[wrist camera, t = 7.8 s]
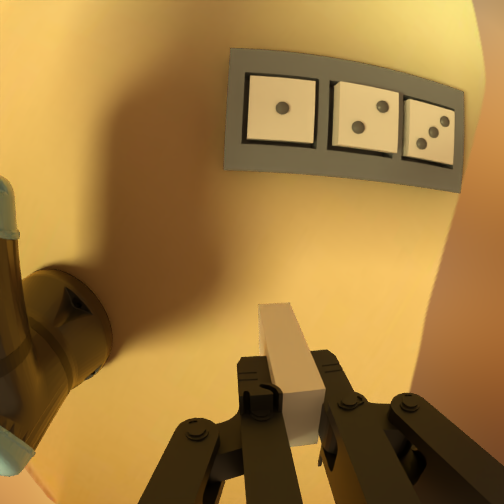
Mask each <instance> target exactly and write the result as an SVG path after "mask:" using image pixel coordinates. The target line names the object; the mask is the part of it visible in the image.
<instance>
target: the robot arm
mask: <svg viewBox="0 0 504 504" xmlns="http://www.w3.org/2000/svg"><path fill="white" fill-rule="evenodd" d="M19 237H20V232H19V231H18V229H17V224H16V211H15V196H14V191H13V188H12V186H11V184H10V183H9V181H8V180H7V179H6V178H4V177H2V176H0V475H2V476H9V477H10V476H14V475H18V474H19V473H20V472H21V471H22V470H23V469H24V467H25V466H26V465H27V463H28V462H29V460H30V459H31V458H32V457H33V456H34V455H35V452H34V451H35V450H36V448H37V446H38V444H39V442H40V441H41V439H42V437H43V435H44V434H45V432H46V430H47V429H48V427H49V425H50V423H51V422H52V420H53V418H54V417H55V415H56V413H57V412H58V410H59V408H60V407H61V405H62V403H63V402H64V400H65V398H66V397H67V395H68V394H69V392H70V390H72V389H73V388H75V387H77V386H78V385H80V384H81V383H82V382H83V381H85V380H87V379H89V378H91V377H93V376H94V375H95V374H97V373H98V372H99V371H100V369H101V368H102V367H103V365H104V363H105V362H106V360H107V358H108V356H109V354H110V351H111V347H112V330H111V326H110V322H109V319H108V317H107V314H106V312H105V310H104V308H103V306H102V305H101V303H100V302H99V300H98V299H97V297H96V296H95V295H94V294H93V292H92V291H91V290H90V289H89V288H88V287H87V286H86V285H84V284H83V283H82V282H81V281H79V280H78V279H76V278H75V277H73V276H71V275H70V274H67V273H65V272H62V271H59V270H54V269H43V270H39V271H36V272H34V273H32V274H31V275H29V276H27V277H26V278H24V279H23V280H22V279H21V270H20V261H19V250H18V239H19ZM258 309H259V354H260V356H253V357H241V359H240V361H239V362H238V364H237V375H238V392H239V410H238V412H237V414H236V415H235V416H234V417H233V418H231V419H229V420H228V421H225V422H222V423H218V424H215V423H213V422H212V421H210V420H207V419H204V418H192V419H188V420H185V421H184V422H182V423H180V424H179V426H178V427H177V428H176V430H175V432H174V434H173V436H172V438H171V439H170V441H169V443H168V445H167V447H166V449H165V451H164V453H163V455H162V457H161V459H160V461H159V463H158V465H157V467H156V469H155V471H154V473H153V475H152V477H151V479H150V481H149V483H148V485H147V487H146V489H145V490H144V492H143V494H142V496H141V498H140V500H139V502H138V504H218V503H219V500H220V497H221V494H222V490H223V487H224V484H225V480H228V479H231V478H234V477H237V476H241V475H244V479H245V491H246V503H247V504H303V502H302V497H301V493H300V489H299V484H298V480H297V475H296V471H295V467H294V462H293V458H292V453H291V449H290V447H294V446H302V445H310V444H317V442H318V436H320V440H321V443H322V444H321V450H320V455H319V460H318V466H321V465H322V461H323V464H324V467H325V470H326V474H327V477H328V480H329V484H330V487H331V490H332V493H333V497H334V500H335V503H336V504H504V466H503V465H502V464H501V463H499V462H498V461H497V460H496V459H495V458H494V457H492V456H491V455H490V454H489V453H488V452H486V451H485V450H484V449H483V448H481V446H479V445H478V444H477V443H476V442H474V441H473V440H472V439H471V438H470V437H469V436H467V435H466V434H465V433H464V432H463V431H461V430H460V429H459V428H458V427H457V426H456V425H454V424H453V423H452V422H451V421H450V420H448V419H447V418H446V417H445V416H444V415H443V414H441V413H440V412H439V411H438V410H437V409H435V408H434V407H433V406H432V405H430V403H428V402H427V401H426V400H425V399H424V398H422V397H420V396H419V395H417V394H413V393H402V394H398V395H397V396H395V397H394V398H393V399H392V401H391V404H377V403H370V402H368V401H367V399H366V398H365V397H364V396H363V395H361V394H359V393H357V392H354V390H353V388H352V386H351V384H350V382H349V381H348V379H347V377H346V375H345V373H344V371H343V369H342V367H341V365H339V362H338V360H337V358H336V356H335V355H334V354H333V353H331V352H330V351H328V350H318V351H310V350H309V347H308V345H307V343H306V340H305V338H304V336H303V333H302V331H301V328H300V326H299V324H298V321H297V319H296V317H295V314H294V312H293V310H292V307H291V305H290V303H273V304H258Z"/></svg>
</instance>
